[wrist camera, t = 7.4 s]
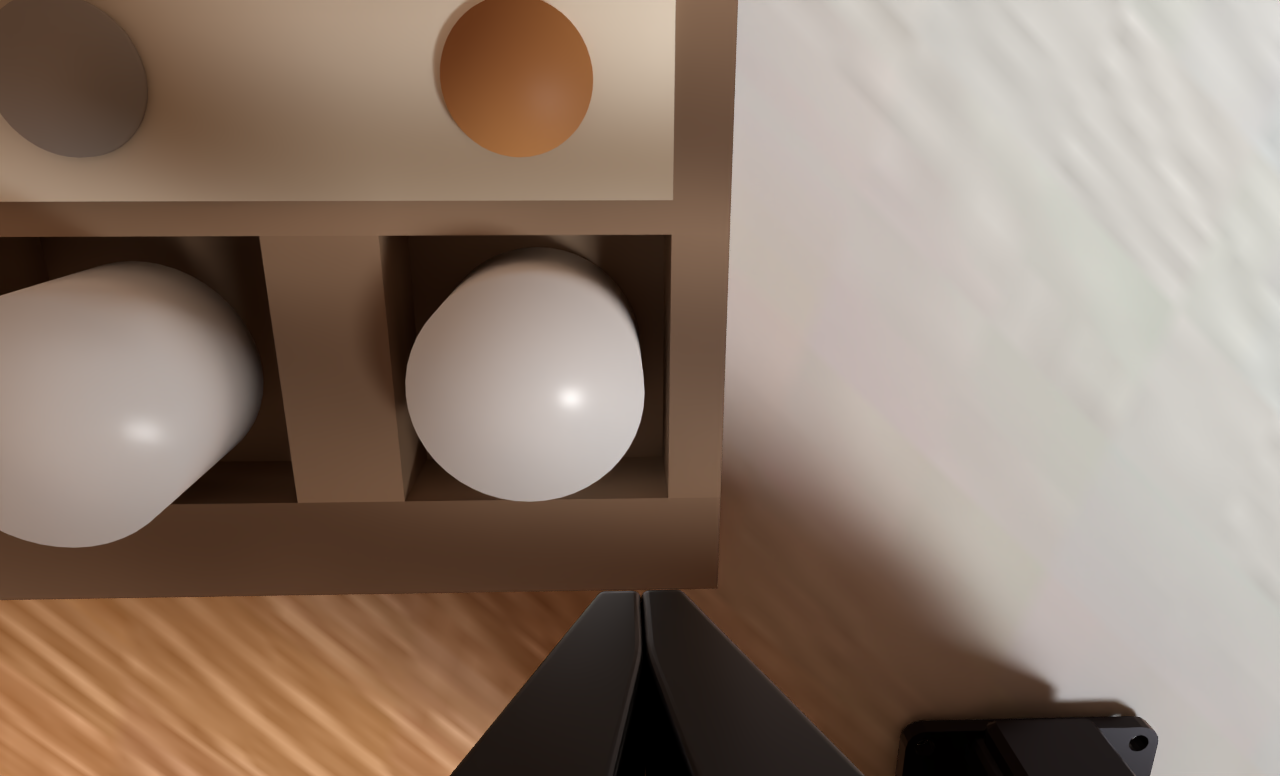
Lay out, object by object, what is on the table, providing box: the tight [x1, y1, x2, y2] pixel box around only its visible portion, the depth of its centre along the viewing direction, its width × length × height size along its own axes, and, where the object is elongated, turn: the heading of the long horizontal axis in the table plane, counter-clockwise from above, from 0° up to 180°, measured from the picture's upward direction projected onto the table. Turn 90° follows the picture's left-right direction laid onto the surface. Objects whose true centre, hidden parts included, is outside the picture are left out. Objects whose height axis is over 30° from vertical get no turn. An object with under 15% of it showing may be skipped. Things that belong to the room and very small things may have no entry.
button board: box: [0, 0, 738, 600], centre depth 16 cm, size 12×21×3 cm, turn 90°
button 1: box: [405, 247, 645, 502], centre depth 15 cm, size 4×4×3 cm
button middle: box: [0, 261, 263, 548], centre depth 14 cm, size 4×4×3 cm
